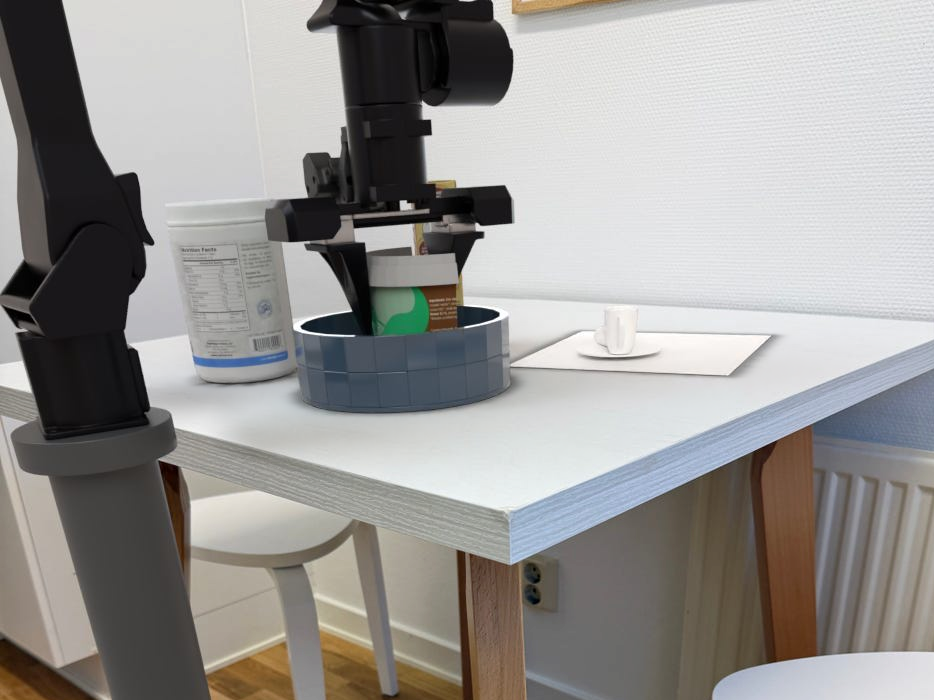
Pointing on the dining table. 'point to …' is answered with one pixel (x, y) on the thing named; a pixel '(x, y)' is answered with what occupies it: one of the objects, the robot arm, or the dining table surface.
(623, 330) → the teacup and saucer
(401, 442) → the dining table surface
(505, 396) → the dining table surface
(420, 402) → the pot
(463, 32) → the robot arm
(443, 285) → the food container
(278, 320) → the supplement tub
